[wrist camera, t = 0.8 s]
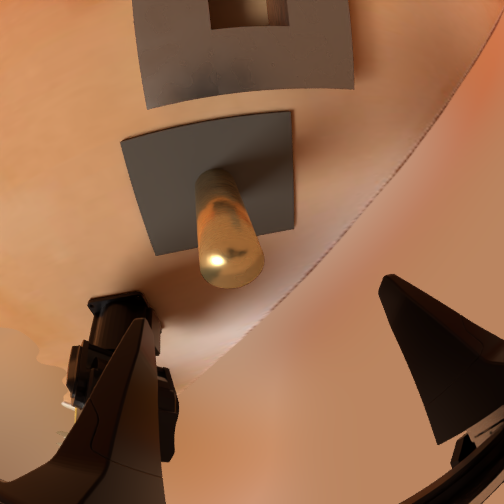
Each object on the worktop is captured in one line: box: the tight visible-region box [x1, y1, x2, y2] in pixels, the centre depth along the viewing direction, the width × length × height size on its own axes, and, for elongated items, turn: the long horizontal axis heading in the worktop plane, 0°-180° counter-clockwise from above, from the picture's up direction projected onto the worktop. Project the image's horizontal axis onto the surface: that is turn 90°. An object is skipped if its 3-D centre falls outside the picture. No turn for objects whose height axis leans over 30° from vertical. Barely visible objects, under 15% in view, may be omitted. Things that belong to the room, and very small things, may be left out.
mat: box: [120, 111, 294, 256], centre depth 20 cm, size 12×10×1 cm
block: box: [132, 0, 354, 110], centre depth 11 cm, size 12×12×4 cm
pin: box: [195, 168, 264, 289], centre depth 16 cm, size 3×3×9 cm
